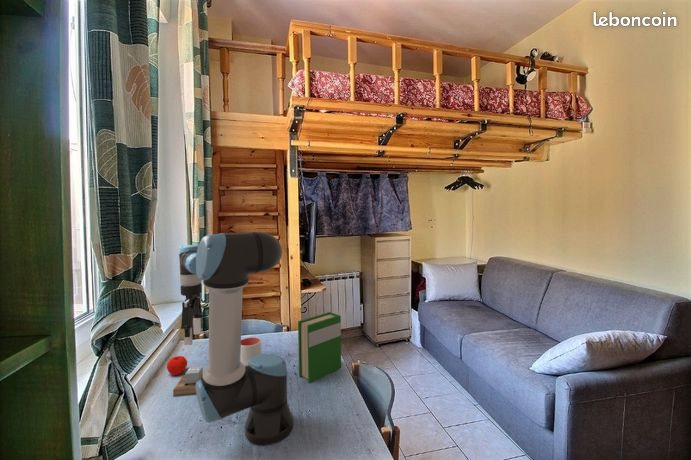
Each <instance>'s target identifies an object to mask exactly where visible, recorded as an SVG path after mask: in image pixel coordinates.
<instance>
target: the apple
mask: <svg viewBox="0 0 691 460" xmlns="http://www.w3.org/2000/svg"><path fill="white" fill-rule="evenodd" d="M187 367H188V360H187V358H186V357H185V356H182V355H179V356H178V355H177V356H174V357H172V358H170V359H169V360H168V362H167V364H166V369H167V372H168V373H169V374H171V375H172V376H178V375H182V374H183V373H184V371H185V370H186V368H187Z"/></svg>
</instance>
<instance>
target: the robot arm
mask: <svg viewBox="0 0 691 460" xmlns="http://www.w3.org/2000/svg"><path fill="white" fill-rule="evenodd" d="M178 250H179V251H178V252H179V253H178V260H179V273H180V274H179V284H180V295H181V296H185V299H184V301H182V303H181V306H182V308H181V325H180V330H183V344H184V346H191V345H194V344H193V343H194V342H193V335H201V334H202V321H201V319H202V318H203V317H204V315H203V309H202V302H201V293H202V290H203V287H202V284H203V286H204V287H205V288H206V289H208V291H209V292H208V293H209V294H208V299H209V300H208V304H209V305H208V312H209V313H208V366H206V367H205V368H204V370H203V380H199V381H197V382H196V385H195V387H196V394H195V395H196V398H197V402H198V407H199V409H200V410H199V411H200V413H201V416H202V418H203V420H204V421H205V422H206V423H210V424H211V423H214V422H216V421H219V420H223V419H225V418H227V417H230V416H233V415H235V414H236V413H240V412H241V411H244V410H247V409H249V411H248V415H247V417H246V420H245V422H244V423H245V424H244V435H245V438H246V440H247V441H249V443H251V444H254V445H256V446H257V445H258V446H268V445H273V444H276V443H279V442H281V441H282V440H284V439H285V438H287V437H288V436H289V435H290V434H291V433H292V431H293V429H294V416H293V413H292V412H291V409H290V406H289V403H288V378H287V377H288V376H287V375H288V369H287V362H286V360H285V358H284V357H282V356H280V355H278V354H273V353H261V354H260V355H256V356H253V357H252V358H250V360H249V362H248V366H244V364H243V363H242V362H240V358H241V340H242V323H243V322H242V321H243V315H242V314H243V292H244V291H243V290H244V289H243V288H244V287H246V286H247V285H248V284H249V276H250V275H251V274H252V275H253V274H257V273H258V274H259V273H264V272H267V271H268V270H271V269H273V268H275V267H276V266H277V265H278V264H279V263H280V261H281V259H282V257H283V247H282V245H281V242H280V241H279V240H278V239H277V238H276V237H275V236H273V235H272V234H270V233H268V232H262V231H252V232H224V233H222V232H220V233H216V234H215V233H214V234H207V235H205V236H203V237H202V238H201V240H200V241H199V243H198V244H186V245H181V246H179V249H178Z"/></svg>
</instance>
